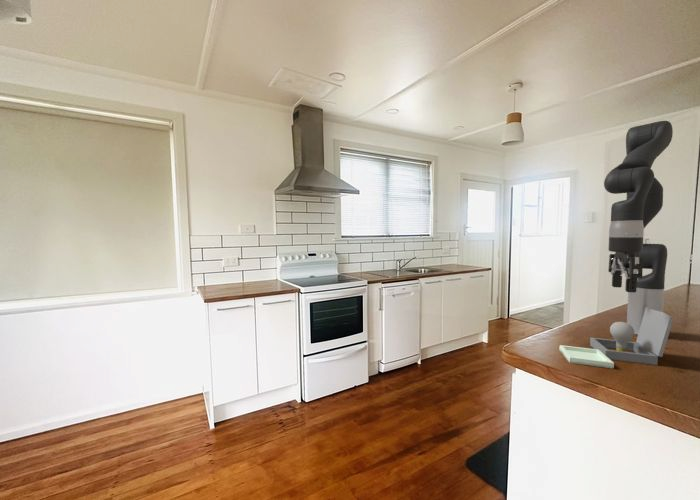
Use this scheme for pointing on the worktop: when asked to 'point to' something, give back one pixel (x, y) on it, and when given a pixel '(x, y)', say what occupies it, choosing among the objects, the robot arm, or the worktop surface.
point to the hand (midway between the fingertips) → (623, 289)
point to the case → (638, 357)
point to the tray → (586, 356)
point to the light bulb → (621, 334)
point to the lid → (654, 331)
